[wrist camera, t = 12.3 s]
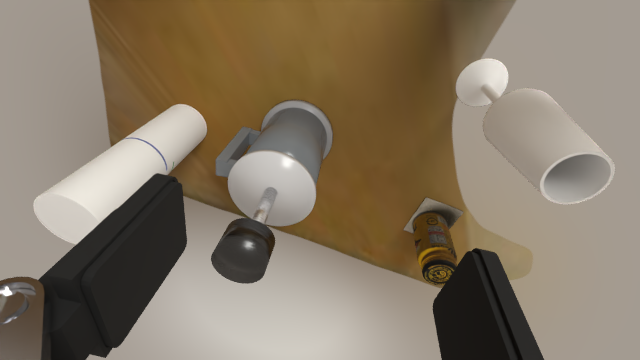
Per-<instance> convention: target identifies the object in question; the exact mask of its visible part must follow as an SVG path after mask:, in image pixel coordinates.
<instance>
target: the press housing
mask: <svg viewBox="0 0 640 360" xmlns="http://www.w3.org/2000/svg"><path fill="white" fill-rule="evenodd" d="M332 140H333V131H332V126H331V124H330V121H329V119H328V118H327V116H326V115H325V114H324V113H323V112H322V111H321V110H320V109H319V108H318V107H317V106H315V105H313V104H311V103H309V102H306V101H302V100H287V101H283V102H281V103H279V104H277V105H275V106H274V107H273V108H272V109H271V110H270V111H269V112H268V114H267V115H266V117H265V118H264V120H263V123H262V128H261V132H260V131H256V130H252V129H251V128H247V127H242V128H241V130H240V131H239V132H238V133H237V134H236V136H235V137H234V138H233V139H232V140H231V142H230V143H229V144H228V145H227V146H226V148H225V149H224V150H223V151H222V152H221V154H220V155H219V156H218V157H217V158H216V175H218V176H223V177H228V189H229V193H230V196H231V198H232V200H233V201H234V203H235V204H236V206H237V207H238V208H239V209H240V210H241V211H242V212H243V213H244V214H246V215H247V216H248V217H250V218H251V217H252V215H253V213H254V211H255V209H256V207H257V205H258V203H259V201H260V199H261V197H262V195H263V193H264V191H265V189H266V188H268V187H273V188H275V189H276V190H277V192H278V195H277V197H276V199H275V202H274V204H273V206H272V209H271V211H270V214H269V216H268V218H267V221H266V223H265V224H267V225H272V226H288V225H292V224H295V223H298V222H300V221H302V220H303V219H304V218H306V217H307V216H308V215H309V213H310V212H311V211H312V209H313V207H314V204H315V200H316V183H317V179H318V175H319V171H320V168H321V164H322V160H323V159H324V158H325V157H326V156H327V154H328V153H329V151H330V148H331V145H332ZM249 145H252V146H251V147H250V149H249V150H248V152H247V153H246V155H244V156H242V155H243V153H244V152H245V150H246V149H247V148H248V146H249ZM241 156H242V157H241ZM240 157H241V158H240Z"/></svg>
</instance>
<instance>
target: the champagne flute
mask: <svg viewBox="0 0 640 360" xmlns="http://www.w3.org/2000/svg"><path fill="white" fill-rule="evenodd" d="M507 82H508V72H507V69H506V67H505V66H504V65H503V63H501V62H500V61H498V60H495V59H490V58H487V59H480V60H477V61H475V62H473V63H471V64H470V65H468V66H467V67H466V68H465V69H464V70H463V71H462V72H461V74H460V75H459V77H458V79H457V82H456V93H457V96H458V98H459V99H460V101H461V102H462V103H464V104H466V105H468V106H472V107H481V106H485V105H487V104H490V103H493V104H492V105H491V106H490V108H489V109H488V111H487V112H486V115H485V117H484V121H483V131H484V135H485V137H486V139H487V140H488V141H489V142H490V143H491V144H492V145H493V146H494V147H495V148H496V149H497V150H498V151H499V152H500V153H501V154H502V155H503V156H504V157H505V158H506V159H507V160H508V161H509V162H510V163H511V164H512V165H513V166H514V167H515V168H516V169H517V170H518V171H519V172H520V173H521V174H522V175H523V176H524V177H525V178H526V179H527V180H528V181H529V182H530V183H531V184H532V185H533V186H534V187H535V188H536V189H537V190H538V191H539V192H540V193H541V194H542V195H543V196H544V197H545V198H546V199H548V200H549V201H551V202H554V203H558V204H574V203H579V202H583V201H586V200H588V199H590V198H592V197H594V196H596V195H598V194H599V193H600V192H602V191H603V190H604V189H605V188H606V187H607V186H608V185H609V184H610V182H611V181H612V178H613V176H614V172H615V166H614V163H613V161H612V160H611V159H610V157H608V156H607V154H606V153H605V152H604V151H603V150H602V149H601V148H600V147H599V146H598V145H597V144H596V143H595V142H594V141H593V140H592V139H591V138H590V137H589V136H588V135H587V134H586V133H585V132H584V131H583V130H582V129H581V128H580V127H579V125H577V124H576V122H575V121H574V120H573V119H572V118H571V117H570V116H569V115H568V114H567V113H566V112H565V111H564V110H563V109H562V108H561V107H560V106H559V105H558V104H557V103H556V102H555V101H554V100H553V99H552V98H551V97H550V96H549V95H548V94H546V93H545V92H543V91H540V90H537V89H530V88H526V89H525V88H524V89H518V90H514V91H511V92H509V93H506V94H505V95H503V96H501V94H502V93H503V92H504V90H505V88H506V86H507Z"/></svg>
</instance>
